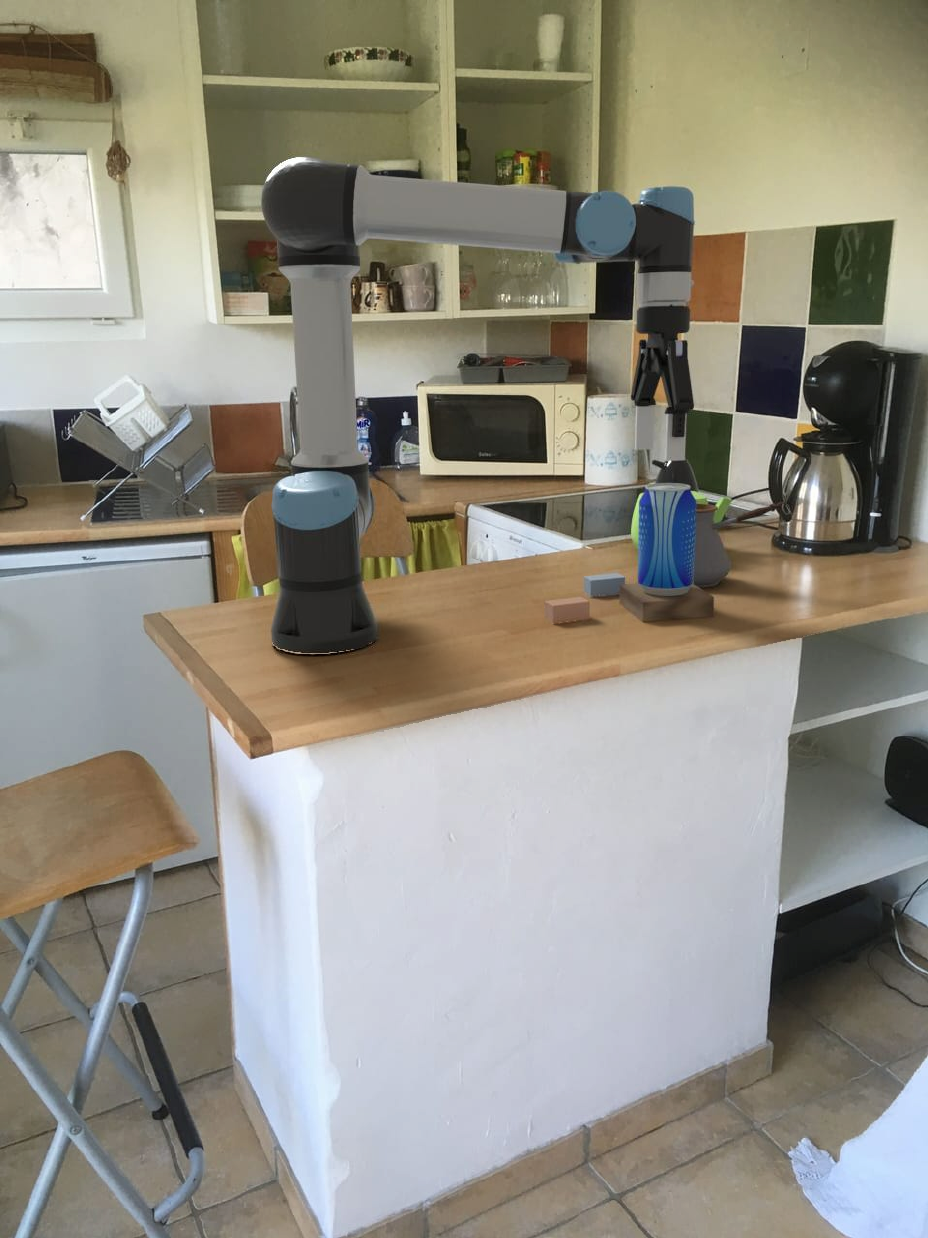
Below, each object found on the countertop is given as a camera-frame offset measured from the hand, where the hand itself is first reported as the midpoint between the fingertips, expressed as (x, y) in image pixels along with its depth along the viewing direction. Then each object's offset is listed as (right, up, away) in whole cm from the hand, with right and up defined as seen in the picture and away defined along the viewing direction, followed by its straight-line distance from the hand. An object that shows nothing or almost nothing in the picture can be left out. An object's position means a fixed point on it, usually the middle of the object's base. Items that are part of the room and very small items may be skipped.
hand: (658, 454), depth 151 cm
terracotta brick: (-13, -25, +2) cm, 28 cm away
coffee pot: (+14, -19, +18) cm, 30 cm away
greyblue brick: (-6, -20, +16) cm, 27 cm away
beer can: (+2, -20, +5) cm, 21 cm away
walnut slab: (+2, -23, +5) cm, 24 cm away
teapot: (+13, -12, +43) cm, 47 cm away
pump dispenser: (+16, -5, +68) cm, 70 cm away
